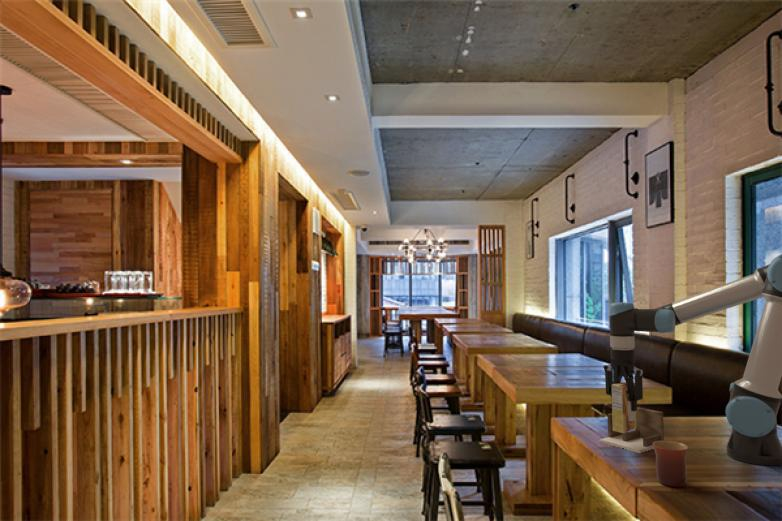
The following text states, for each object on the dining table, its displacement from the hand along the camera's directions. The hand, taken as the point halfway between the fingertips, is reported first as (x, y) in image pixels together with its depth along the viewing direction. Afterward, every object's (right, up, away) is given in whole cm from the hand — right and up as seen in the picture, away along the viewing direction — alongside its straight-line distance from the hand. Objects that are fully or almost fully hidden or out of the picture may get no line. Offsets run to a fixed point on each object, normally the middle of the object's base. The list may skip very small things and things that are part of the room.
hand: (624, 418), depth 173 cm
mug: (0, -9, -29) cm, 30 cm away
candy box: (0, -4, 0) cm, 4 cm away
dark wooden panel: (+3, -11, +12) cm, 17 cm away
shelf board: (+5, -10, +5) cm, 12 cm away
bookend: (+8, -10, +4) cm, 14 cm away
